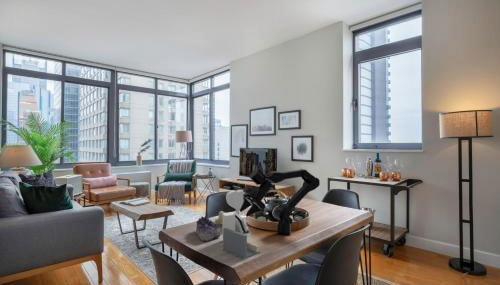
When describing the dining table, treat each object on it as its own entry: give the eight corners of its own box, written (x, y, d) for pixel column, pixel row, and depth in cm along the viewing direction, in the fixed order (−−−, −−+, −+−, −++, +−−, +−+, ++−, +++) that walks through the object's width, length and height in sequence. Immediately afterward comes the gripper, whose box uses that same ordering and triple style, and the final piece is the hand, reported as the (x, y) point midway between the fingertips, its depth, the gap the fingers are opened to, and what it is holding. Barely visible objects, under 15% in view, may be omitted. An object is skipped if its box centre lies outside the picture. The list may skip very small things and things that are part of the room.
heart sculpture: (245, 214, 182) (244, 188, 183) (249, 216, 178) (248, 189, 178) (225, 218, 174) (225, 191, 174) (229, 220, 169) (229, 192, 170)
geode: (188, 232, 148) (190, 214, 149) (208, 231, 154) (209, 214, 155) (200, 242, 130) (203, 222, 131) (222, 241, 136) (224, 221, 137)
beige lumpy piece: (211, 221, 151) (204, 217, 158) (215, 234, 153) (208, 230, 160) (226, 212, 157) (218, 209, 164) (230, 225, 159) (222, 221, 166)
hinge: (250, 232, 147) (244, 216, 145) (242, 236, 145) (236, 220, 143) (238, 224, 162) (233, 209, 160) (231, 227, 160) (226, 212, 158)
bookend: (238, 244, 130) (238, 223, 130) (259, 252, 120) (259, 230, 120) (223, 250, 122) (222, 228, 122) (244, 259, 113) (243, 236, 113)
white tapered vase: (232, 239, 137) (232, 212, 137) (236, 242, 132) (236, 214, 132) (222, 240, 135) (222, 213, 135) (225, 244, 129) (225, 216, 129)
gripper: (246, 178, 147) (227, 199, 142) (259, 183, 129) (238, 207, 125) (259, 191, 149) (241, 212, 145) (274, 197, 132) (254, 222, 128)
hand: (243, 213), depth 136 cm, fingers open, 9 cm apart
